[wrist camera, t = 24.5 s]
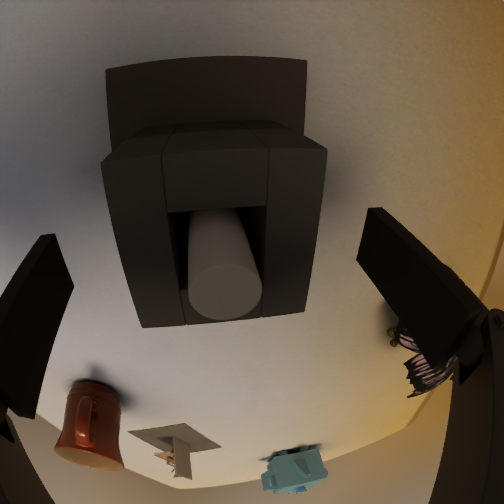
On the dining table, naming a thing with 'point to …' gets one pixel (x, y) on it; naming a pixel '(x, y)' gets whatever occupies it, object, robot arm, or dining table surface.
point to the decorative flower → (419, 363)
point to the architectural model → (176, 445)
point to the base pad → (207, 110)
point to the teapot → (294, 471)
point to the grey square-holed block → (215, 197)
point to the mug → (91, 427)
